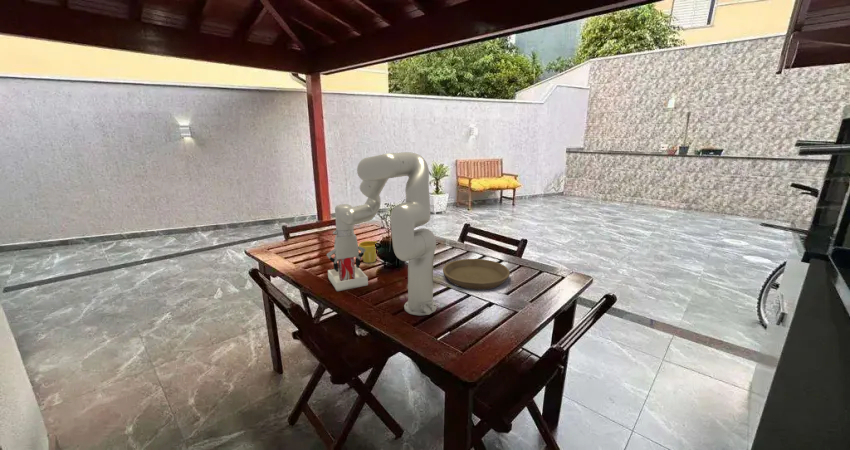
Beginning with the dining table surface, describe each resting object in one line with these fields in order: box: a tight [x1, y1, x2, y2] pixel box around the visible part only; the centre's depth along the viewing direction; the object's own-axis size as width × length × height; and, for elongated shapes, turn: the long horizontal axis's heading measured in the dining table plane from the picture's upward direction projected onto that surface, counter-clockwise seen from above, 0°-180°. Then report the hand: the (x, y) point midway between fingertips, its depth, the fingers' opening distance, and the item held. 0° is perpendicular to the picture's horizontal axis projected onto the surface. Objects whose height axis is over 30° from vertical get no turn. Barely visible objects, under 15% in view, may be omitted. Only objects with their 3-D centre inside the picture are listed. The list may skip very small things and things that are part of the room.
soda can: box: [337, 257, 356, 281], centre depth 159 cm, size 7×7×12 cm
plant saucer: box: [442, 258, 511, 290], centre depth 166 cm, size 31×31×5 cm
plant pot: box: [358, 240, 378, 264], centre depth 187 cm, size 10×10×10 cm
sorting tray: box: [327, 265, 369, 292], centre depth 160 cm, size 16×14×4 cm
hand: (347, 268), depth 159 cm, fingers open, 9 cm apart
